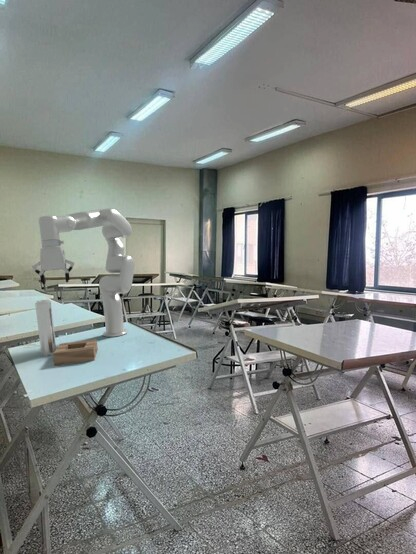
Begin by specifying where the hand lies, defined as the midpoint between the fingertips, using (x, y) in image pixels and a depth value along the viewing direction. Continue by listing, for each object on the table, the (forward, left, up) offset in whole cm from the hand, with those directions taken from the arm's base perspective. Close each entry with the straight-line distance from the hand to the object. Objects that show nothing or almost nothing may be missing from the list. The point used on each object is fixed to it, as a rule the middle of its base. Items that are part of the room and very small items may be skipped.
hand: (55, 283), depth 165 cm
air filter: (-6, -8, -33) cm, 34 cm away
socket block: (+6, +6, -33) cm, 34 cm away
